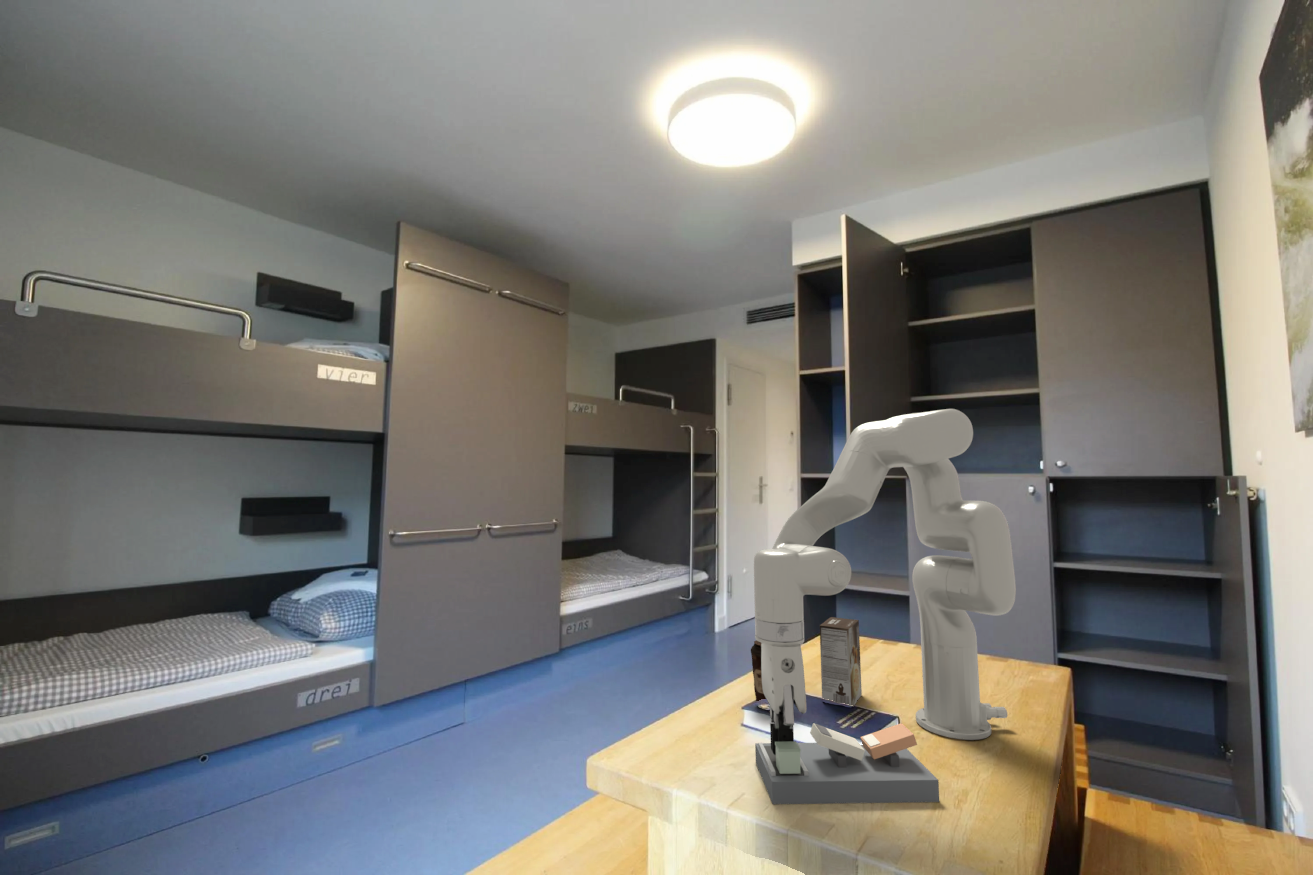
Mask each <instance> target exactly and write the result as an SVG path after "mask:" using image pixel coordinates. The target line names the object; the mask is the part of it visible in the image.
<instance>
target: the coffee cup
mask: <svg viewBox="0 0 1313 875" xmlns="http://www.w3.org/2000/svg"><path fill="white" fill-rule="evenodd" d="M753 642H754V643H753V645H752V646H751V648H750V654H751V663H752V664H751V666H752V674H753V686H754V696H755V702H756V701H759V700H761V699H766V697H765V695H764V693H763V688H762V673H761V645H762V643H761V642H759V641H757V640H756V639H755V640H754V641H753Z"/></svg>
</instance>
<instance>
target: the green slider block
mask: <svg viewBox="0 0 1313 875" xmlns="http://www.w3.org/2000/svg"><path fill="white" fill-rule="evenodd" d="M797 743H798V742H797V741H796V740H794V741H789V742H775V745H776V766H777V768H778V771H779V773H780V774H792V773H800V752H801V749H800V747H799V745H798V744H797Z"/></svg>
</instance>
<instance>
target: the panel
mask: <svg viewBox="0 0 1313 875" xmlns="http://www.w3.org/2000/svg"><path fill="white" fill-rule="evenodd" d="M797 744H798V745H799V747H800V749H801V752H800V773H792V774H780V773H779V771H778V768H777V766H776V755H774V754H773V752H772V750H771V742H768V743H767V742H766V743H764V742H757V743H755V744H754V745H755V748H754V749H755V764H756V767H757V769H758V773H759V774H760V776H761V779H762V782H763V784H764V786H765V789H766V791H767V794H768V797H769V799H770V802H771V805H806V804H807V805H811V804H816V805H817V804H818V805H822V804H887V803H888V804H889V803H894V804H898V803H903V804H904V803H940V788H939V784H940V783H939V779H938V778H937V777H936V776H935V775H934V774H933V773H932V772H931V771H930V770H929V769H928V768H927V767H926V766H925V765H924V764H923V763H922V762H921V761H920V760H919V758H917V757H916V756H915V755H914V754H913V753H912V752H911V751H910V750H909V748H906V749H904V750H901V751H898V752H895V753H892V754H889V755H886V756H883V757H880V758H877V759H873V758H872V757H871V755H870V754H869V753H868V752H867V751H866V750H865V748H864V747H863V745H861V746H862V747H863V749H864V750H865V752H864V755H863V758H862V761H861V760H858V759H856V758H853V757H850V756H847V755H845V754H842V753H839V752H837V751H834V750H831V749H828V748H826V747H823V746H820V745H818V744H817V743H816V742H797Z"/></svg>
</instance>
